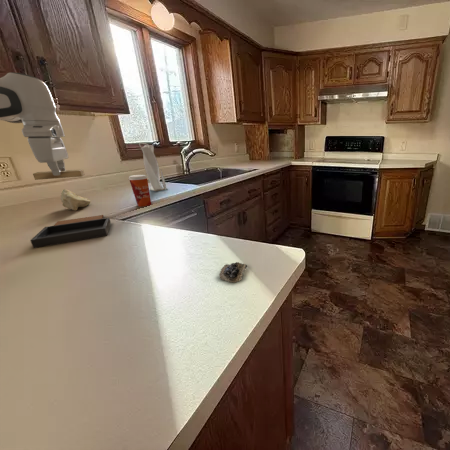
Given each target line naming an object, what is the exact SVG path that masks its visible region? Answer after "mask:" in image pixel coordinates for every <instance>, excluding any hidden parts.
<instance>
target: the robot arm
mask: <svg viewBox="0 0 450 450" xmlns="http://www.w3.org/2000/svg"><path fill="white" fill-rule="evenodd" d="M0 121H3V122H7V123H11V124H22V126H23V127H22V129H21V133H22V135H23V137H24V138H27V143H28V145H29V147H30V149H31V151H32V154H33V156H34V157H35V159H36V161H37V162H38V163H40V164H41V163H42V164H43V163H46V164H47V167H49V170H50V171H52V173H53V175H54V176H58V175H61V172H60V171H64V170H66V165H65V160H67V159H69V153H68V150H67V148H66V145H65V143H64V140H63V139H62V138H64V137H66V135H65V132H64V128H63V125H62V123H61V120H60V118H59V117H58V115H57V107H56V104H55V101H54V98H53V96H52V93H51V91H50V88H49V87H48V85H47V84H46V83H45V82H44V81H43V80H42V79H40V78H38V77H36V76H32V75H30V74H27V73H26V74H25V73H23V72H22V73H21V72H16V71H15V72H14V71H11V72H7V73H6V74H5V75H3V76H1V77H0Z"/></svg>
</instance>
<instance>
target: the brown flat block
mask: <svg viewBox="0 0 450 450" xmlns="http://www.w3.org/2000/svg"><path fill="white" fill-rule="evenodd" d="M103 218H104V215H103V214H101V215H100V214H99V215H93V216H85V217H78V218H72V219H71V218H70V219H65V220H57V221H56V222H55V224H53V226H55V225H62V224H68V223H75V222H82V221H89V220H96V219H103Z"/></svg>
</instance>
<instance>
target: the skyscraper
mask: <svg viewBox="0 0 450 450" xmlns="http://www.w3.org/2000/svg"><path fill="white" fill-rule="evenodd" d="M141 144H143V145H144V146H142V145H141ZM138 145H139V147H140V149H141V152H142V153H143V154H142V156H143V161H142V162H143V167H144V171H145V173H146V174H145V175H146V176H147V177H148V178H147V180H148V182H149V183H150V187H149V191H152V192H157V193H158V192H161V191H166V190H168V187H167V185H166V181H165V180H166V179H165V176H164V173H163V170H162V169H160V166H159V162H158V160H157V157H156V154H155V153H154V151H155V149H154V148H155V147H154V145H151V144H148V143H147V142H139V143H138ZM161 183H162V184H161Z"/></svg>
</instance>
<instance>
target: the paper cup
mask: <svg viewBox="0 0 450 450" xmlns="http://www.w3.org/2000/svg"><path fill="white" fill-rule="evenodd" d="M128 181H129V184H130V186H131V189H132V193H133V196H134V199H135V202H136V205H137V206H138V207H148V206H151V205H152V198H151V193H150V187H149V179H148V176H147V174H134V175H129V176H128Z"/></svg>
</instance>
